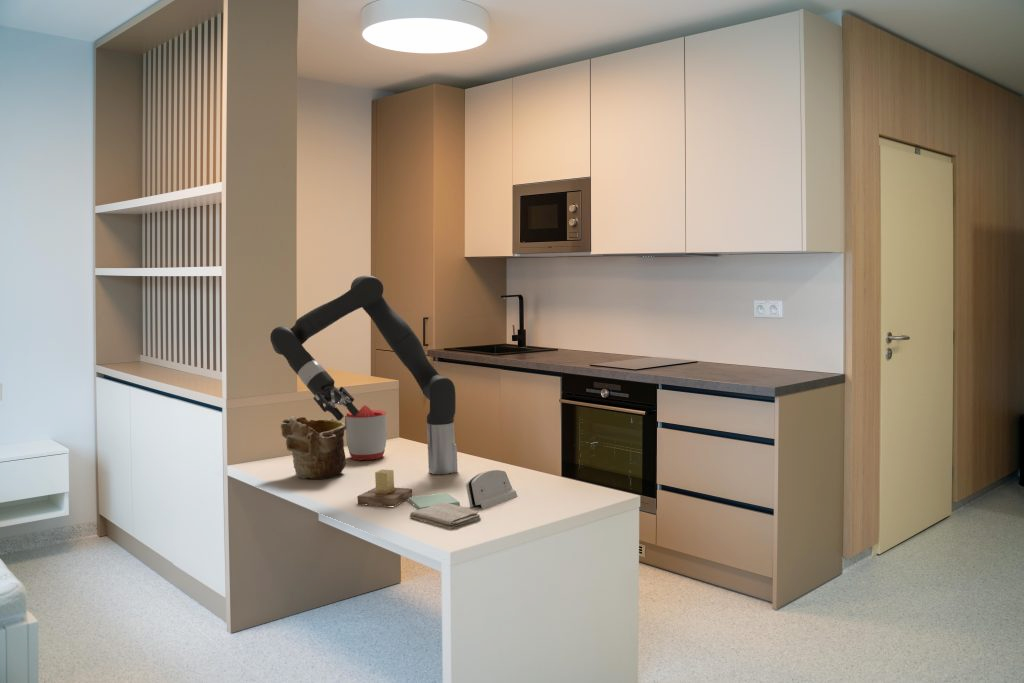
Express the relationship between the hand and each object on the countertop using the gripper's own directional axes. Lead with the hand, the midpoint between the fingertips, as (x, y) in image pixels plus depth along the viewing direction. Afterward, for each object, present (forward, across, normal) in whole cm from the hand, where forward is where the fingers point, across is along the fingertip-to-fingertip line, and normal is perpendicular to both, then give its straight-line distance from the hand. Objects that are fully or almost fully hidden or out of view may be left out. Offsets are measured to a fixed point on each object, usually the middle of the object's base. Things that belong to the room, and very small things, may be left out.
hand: (349, 416), depth 251 cm
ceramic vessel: (0, +22, +36) cm, 43 cm away
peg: (+26, 0, +10) cm, 28 cm away
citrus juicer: (-1, +51, +37) cm, 63 cm away
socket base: (+26, 0, +10) cm, 28 cm away
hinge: (+48, +8, -12) cm, 50 cm away
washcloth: (+45, -12, -8) cm, 47 cm away
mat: (+37, +2, -1) cm, 37 cm away
